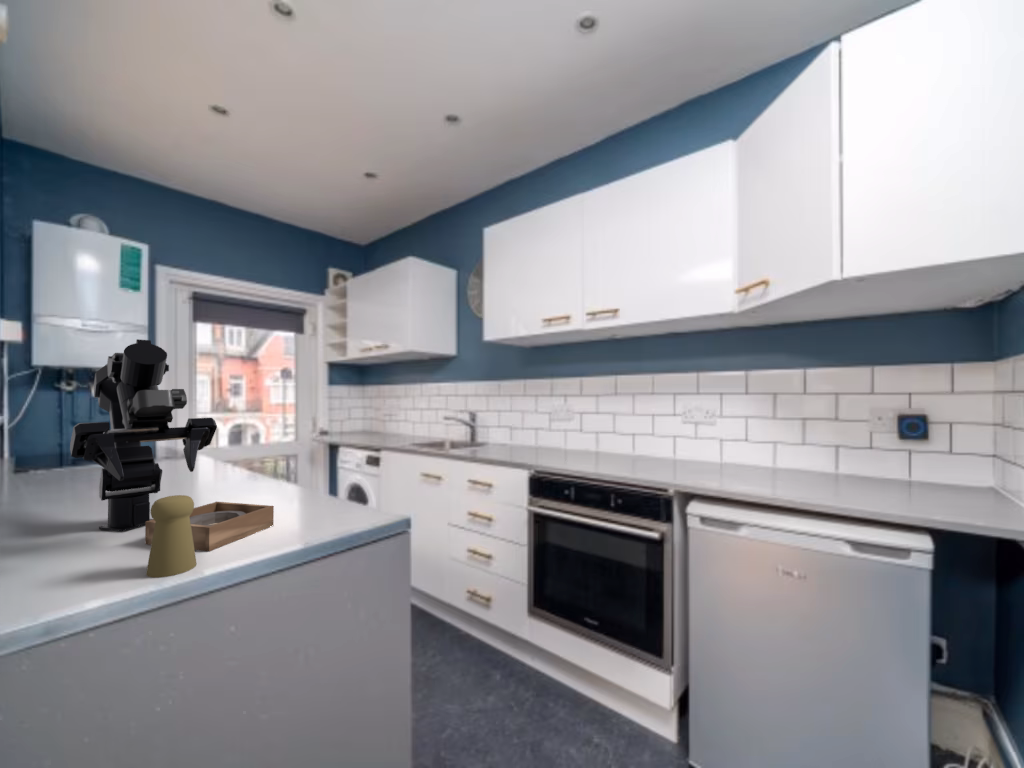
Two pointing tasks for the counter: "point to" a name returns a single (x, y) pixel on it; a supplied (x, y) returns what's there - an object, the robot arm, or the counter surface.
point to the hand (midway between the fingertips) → (158, 474)
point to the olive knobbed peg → (171, 537)
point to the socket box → (222, 523)
